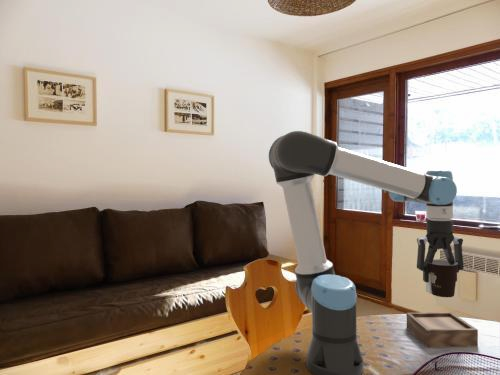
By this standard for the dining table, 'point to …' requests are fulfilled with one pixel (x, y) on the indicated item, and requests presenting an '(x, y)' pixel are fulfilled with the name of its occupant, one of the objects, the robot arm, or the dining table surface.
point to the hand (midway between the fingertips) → (440, 291)
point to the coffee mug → (443, 277)
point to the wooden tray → (442, 329)
